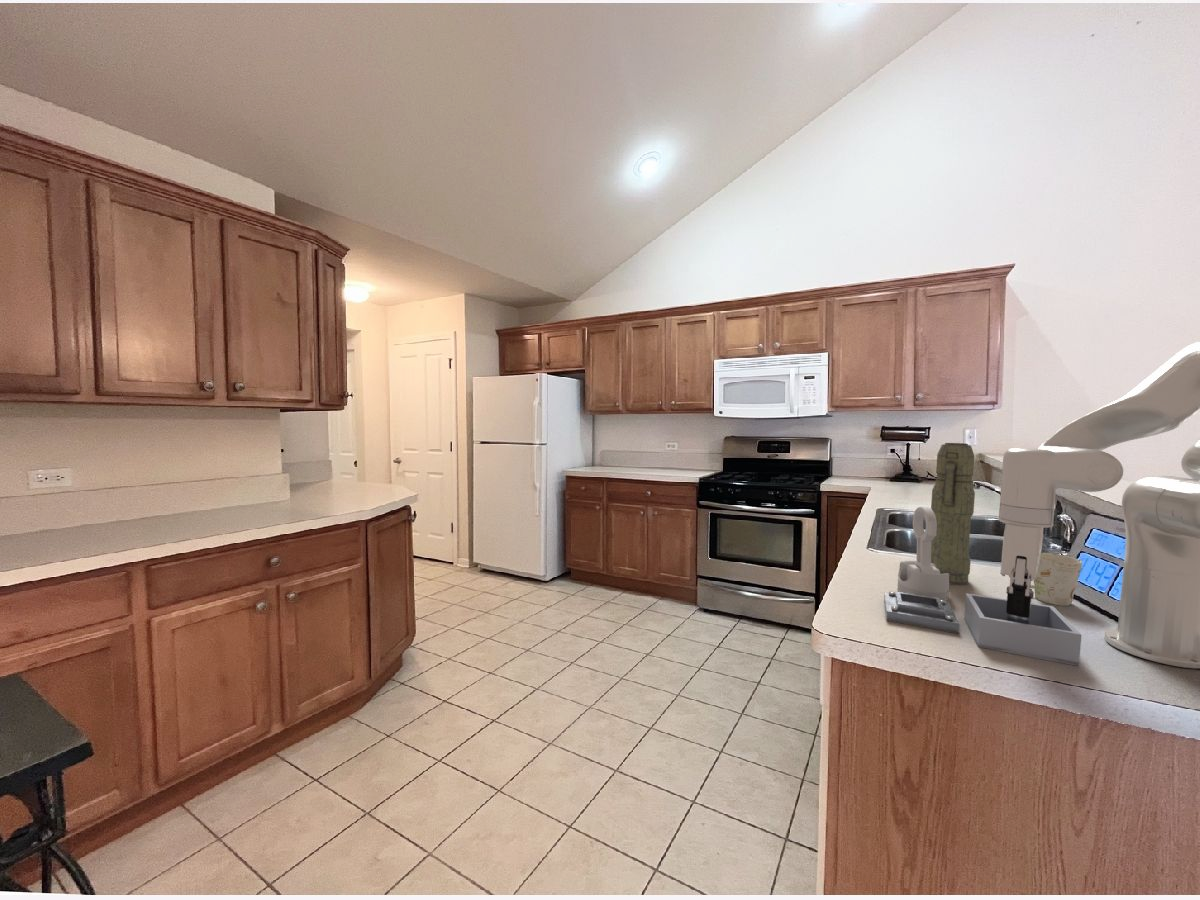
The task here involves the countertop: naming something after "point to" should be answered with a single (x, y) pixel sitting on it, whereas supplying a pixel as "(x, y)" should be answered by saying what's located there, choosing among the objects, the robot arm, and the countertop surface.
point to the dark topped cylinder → (1017, 618)
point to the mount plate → (920, 611)
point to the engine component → (923, 562)
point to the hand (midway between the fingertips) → (1018, 610)
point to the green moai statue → (953, 511)
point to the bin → (1022, 630)
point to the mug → (1056, 579)
